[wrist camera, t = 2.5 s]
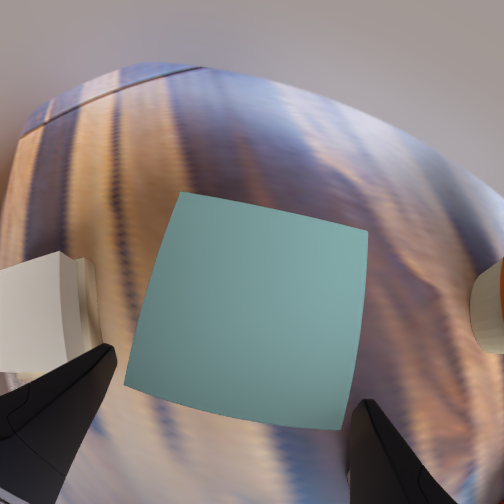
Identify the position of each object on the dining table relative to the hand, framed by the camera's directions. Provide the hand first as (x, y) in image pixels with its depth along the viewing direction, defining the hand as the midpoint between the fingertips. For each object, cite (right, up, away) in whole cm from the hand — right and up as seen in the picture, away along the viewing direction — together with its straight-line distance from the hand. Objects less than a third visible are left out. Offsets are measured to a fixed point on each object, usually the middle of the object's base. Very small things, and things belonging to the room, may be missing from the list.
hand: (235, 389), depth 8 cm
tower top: (-16, -1, +7) cm, 17 cm away
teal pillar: (0, -1, +10) cm, 10 cm away
